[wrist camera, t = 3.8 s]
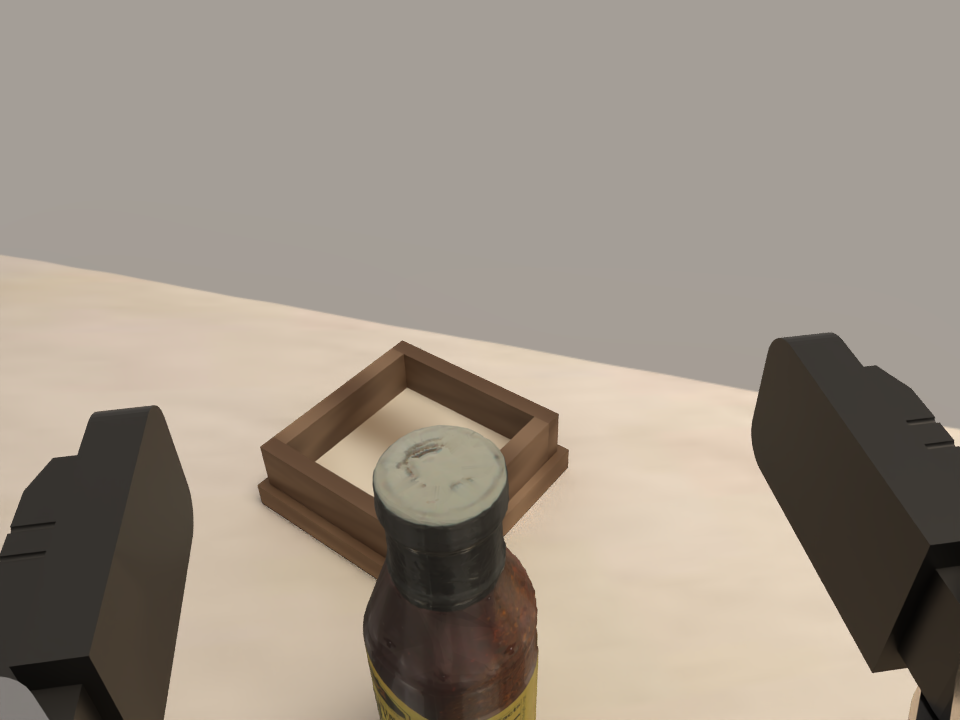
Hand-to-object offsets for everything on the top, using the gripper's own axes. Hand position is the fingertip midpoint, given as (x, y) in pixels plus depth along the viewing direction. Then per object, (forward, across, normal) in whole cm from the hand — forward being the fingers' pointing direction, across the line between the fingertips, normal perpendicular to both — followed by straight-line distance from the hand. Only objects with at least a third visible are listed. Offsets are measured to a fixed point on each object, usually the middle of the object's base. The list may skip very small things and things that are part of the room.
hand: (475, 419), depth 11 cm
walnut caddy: (+28, +1, +30) cm, 41 cm away
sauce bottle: (+10, 0, +30) cm, 32 cm away
